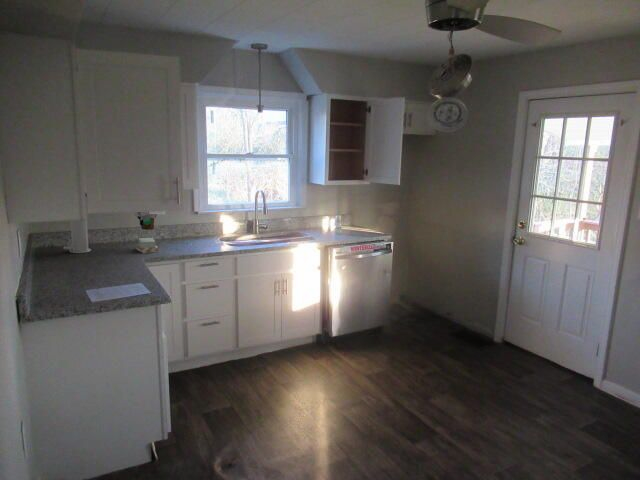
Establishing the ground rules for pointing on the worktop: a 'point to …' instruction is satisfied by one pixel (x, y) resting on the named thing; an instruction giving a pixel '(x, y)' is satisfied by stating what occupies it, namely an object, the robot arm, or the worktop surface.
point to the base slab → (146, 249)
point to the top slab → (147, 242)
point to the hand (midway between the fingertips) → (146, 225)
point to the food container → (148, 222)
